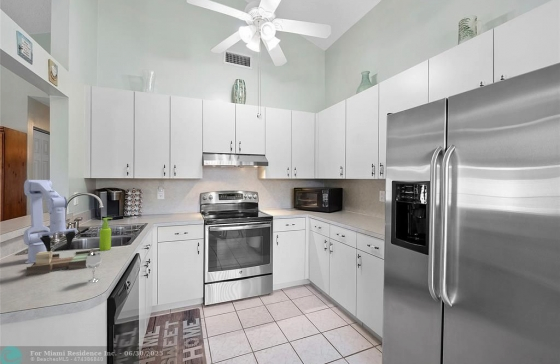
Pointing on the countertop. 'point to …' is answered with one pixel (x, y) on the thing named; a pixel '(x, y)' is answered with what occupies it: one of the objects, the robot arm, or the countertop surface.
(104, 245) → the soap dispenser
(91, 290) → the countertop surface
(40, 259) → the maple block
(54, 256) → the track
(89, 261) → the wineglass
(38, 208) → the robot arm
